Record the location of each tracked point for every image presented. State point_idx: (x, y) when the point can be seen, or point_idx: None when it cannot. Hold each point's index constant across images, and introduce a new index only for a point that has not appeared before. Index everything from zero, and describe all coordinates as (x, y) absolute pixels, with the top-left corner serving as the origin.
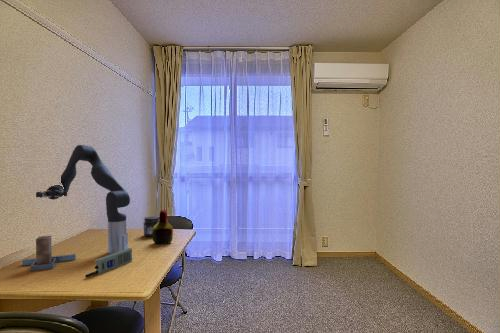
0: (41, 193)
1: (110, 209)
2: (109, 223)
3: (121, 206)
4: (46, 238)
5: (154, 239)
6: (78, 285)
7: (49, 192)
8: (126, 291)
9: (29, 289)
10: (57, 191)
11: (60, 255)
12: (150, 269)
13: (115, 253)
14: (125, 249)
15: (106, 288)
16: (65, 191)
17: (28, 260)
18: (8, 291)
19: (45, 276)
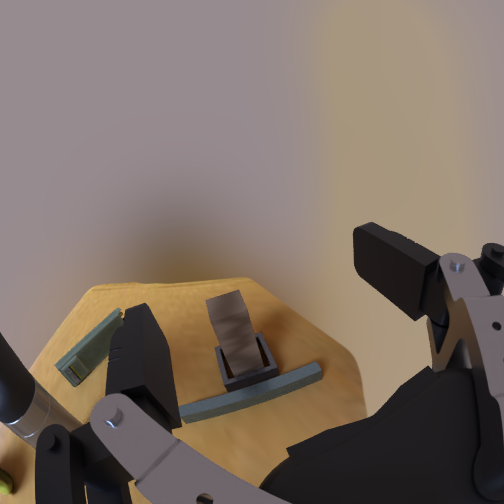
0: (364, 230)
1: (3, 339)
2: (38, 384)
3: None
4: (212, 299)
5: (5, 474)
6: (152, 299)
7: (420, 383)
8: (104, 290)
9: (216, 285)
10: (228, 474)
11: (222, 404)
12: (62, 342)
13: (84, 338)
14: (64, 359)
15: (121, 294)
16: (49, 433)
17: (301, 368)
18: (244, 279)
19: None
